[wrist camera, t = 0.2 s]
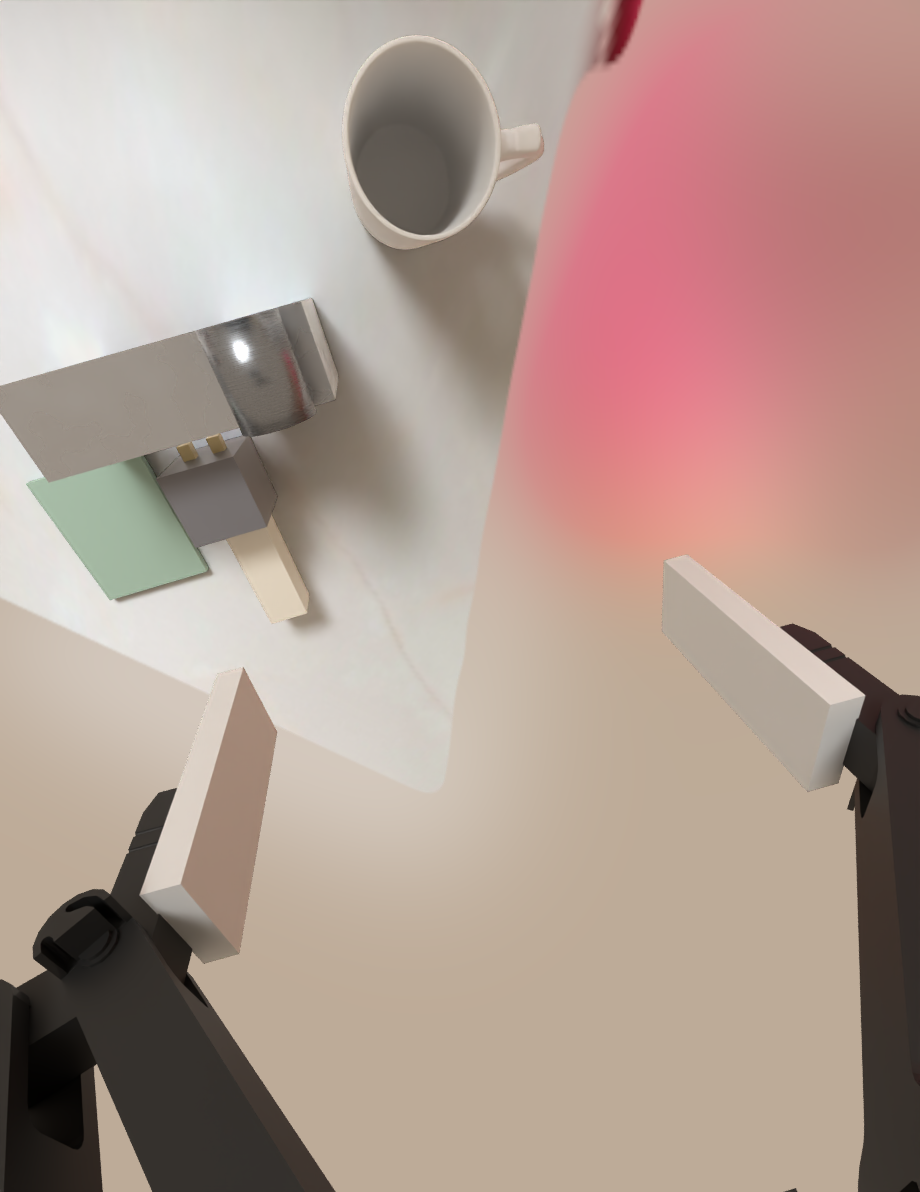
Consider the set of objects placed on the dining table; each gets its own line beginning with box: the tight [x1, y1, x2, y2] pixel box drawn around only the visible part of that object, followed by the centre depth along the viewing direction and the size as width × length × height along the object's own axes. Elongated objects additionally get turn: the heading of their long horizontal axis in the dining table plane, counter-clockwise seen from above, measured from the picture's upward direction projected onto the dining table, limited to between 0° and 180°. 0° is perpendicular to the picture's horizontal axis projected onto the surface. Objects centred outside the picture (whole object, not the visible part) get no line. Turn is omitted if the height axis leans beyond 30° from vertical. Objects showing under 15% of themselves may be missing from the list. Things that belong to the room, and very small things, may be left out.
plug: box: [156, 433, 310, 624], centre depth 39 cm, size 15×5×6 cm, turn 13°
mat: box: [26, 455, 209, 600], centre depth 39 cm, size 10×8×1 cm
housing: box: [0, 298, 339, 483], centre depth 30 cm, size 5×16×13 cm, turn 103°
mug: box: [342, 35, 544, 249], centre depth 27 cm, size 10×7×12 cm, turn 97°
